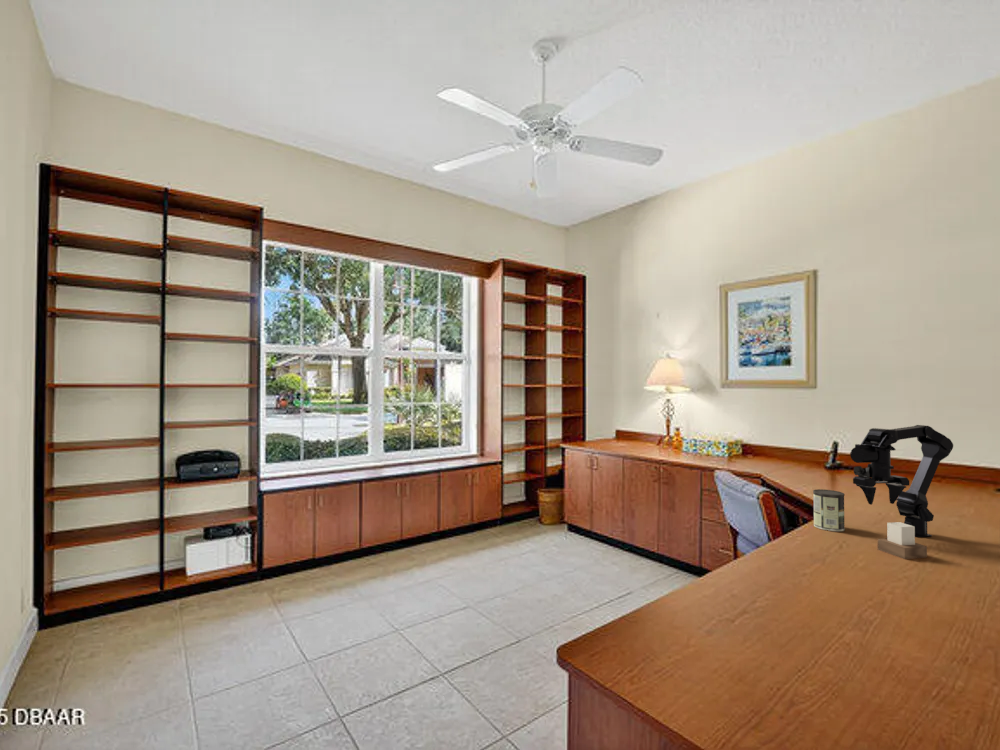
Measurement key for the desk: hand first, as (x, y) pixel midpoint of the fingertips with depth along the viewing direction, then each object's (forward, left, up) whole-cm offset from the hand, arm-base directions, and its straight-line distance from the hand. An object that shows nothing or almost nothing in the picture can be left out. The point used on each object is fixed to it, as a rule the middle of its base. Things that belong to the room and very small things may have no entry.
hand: (881, 503), depth 177 cm
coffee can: (+11, -12, -12) cm, 20 cm away
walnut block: (+10, +17, -12) cm, 23 cm away
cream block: (+10, +17, -8) cm, 21 cm away
